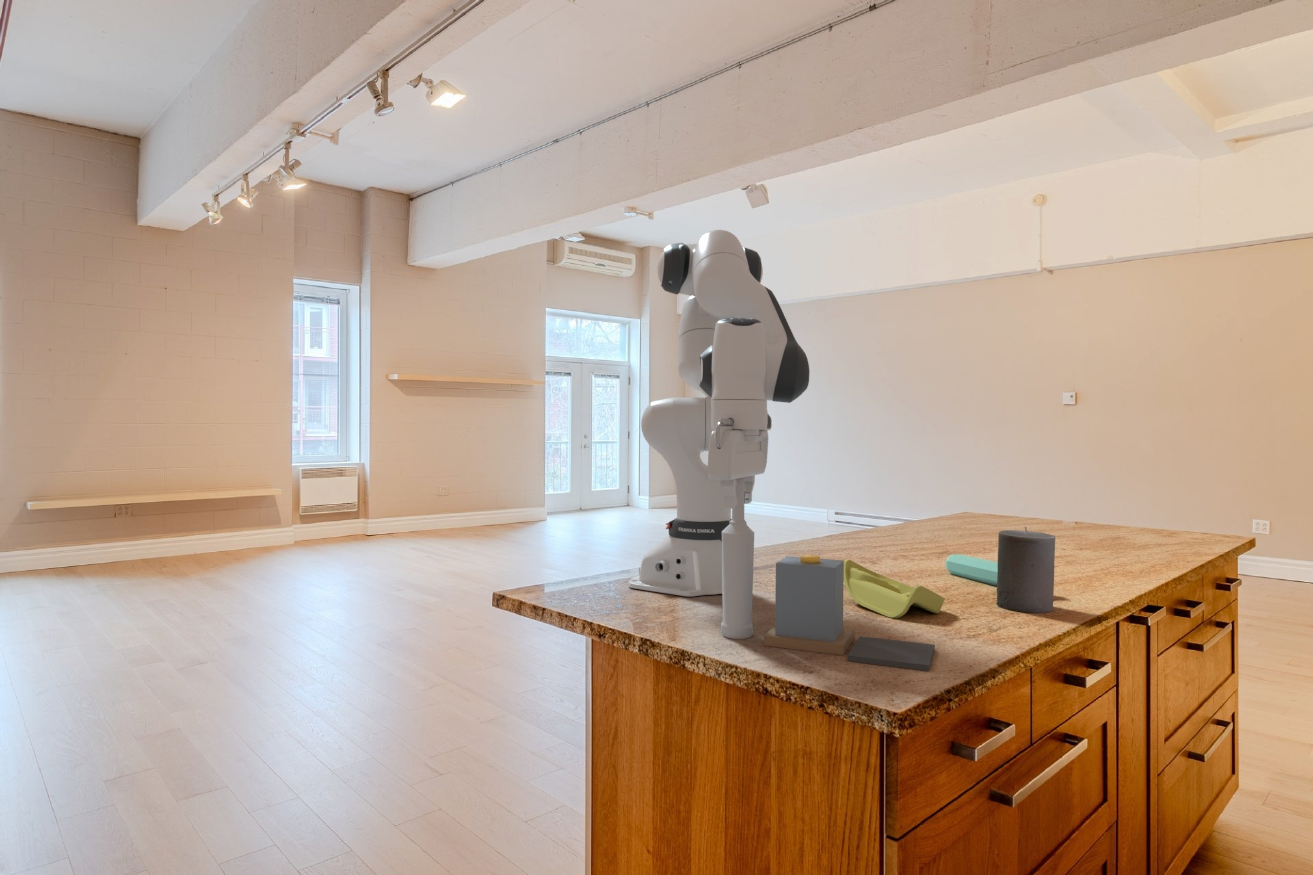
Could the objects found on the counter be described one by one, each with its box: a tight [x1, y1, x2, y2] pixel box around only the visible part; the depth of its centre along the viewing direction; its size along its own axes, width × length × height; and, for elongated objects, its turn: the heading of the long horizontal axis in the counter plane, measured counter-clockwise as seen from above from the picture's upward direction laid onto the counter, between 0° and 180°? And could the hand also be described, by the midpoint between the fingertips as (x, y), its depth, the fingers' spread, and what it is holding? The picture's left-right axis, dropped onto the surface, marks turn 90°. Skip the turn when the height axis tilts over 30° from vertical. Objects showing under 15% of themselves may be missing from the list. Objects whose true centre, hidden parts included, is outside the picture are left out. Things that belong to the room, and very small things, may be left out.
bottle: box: [720, 478, 755, 640], centre depth 124 cm, size 5×5×25 cm
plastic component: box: [843, 558, 946, 619], centre depth 146 cm, size 20×7×10 cm
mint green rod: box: [945, 553, 998, 587], centre depth 167 cm, size 6×6×25 cm
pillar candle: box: [995, 526, 1056, 614], centre depth 145 cm, size 10×10×15 cm
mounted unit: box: [763, 554, 856, 656], centre depth 121 cm, size 12×10×13 cm
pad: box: [847, 635, 936, 672], centre depth 114 cm, size 11×11×1 cm
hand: (738, 505), depth 124 cm, fingers open, 6 cm apart
